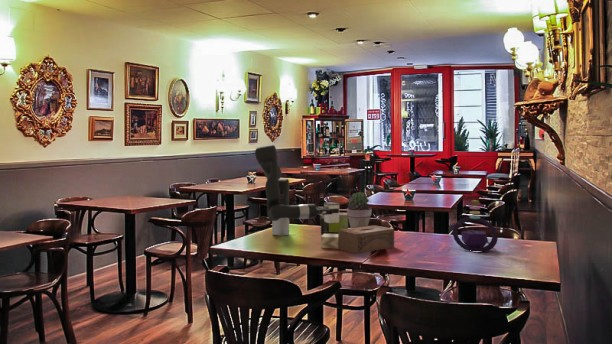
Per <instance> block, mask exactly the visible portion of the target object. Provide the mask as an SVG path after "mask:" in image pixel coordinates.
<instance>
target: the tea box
mask: <svg viewBox="0 0 612 344" xmlns="http://www.w3.org/2000/svg"><path fill="white" fill-rule="evenodd" d="M344 229H349V218H348V213H347V212H339V223H327V222H324V215H320V237H321V236H322V235H323V234H338V230H344Z"/></svg>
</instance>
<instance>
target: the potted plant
mask: <svg viewBox="0 0 612 344" xmlns="http://www.w3.org/2000/svg"><path fill="white" fill-rule="evenodd" d="M371 195H372V194H371V191H370V190H368V189H367V190H365V191H364V192H362V191H360V190H359V191H358V192H354V193H352V194H351V196H349V200H348V201H349V203H348V204H347V206H345V207H344V206H343V207H344V208H346V207H347V208H346V213H348V224H349V227H350V229H351V228H359V227H367V226H369V223H370V218H371V216H372V212H373V209H372V208H370V207H369V206H371V207H372V205H370V204H369V203H368V202H370V197H371Z"/></svg>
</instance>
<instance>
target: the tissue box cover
mask: <svg viewBox="0 0 612 344" xmlns="http://www.w3.org/2000/svg"><path fill="white" fill-rule="evenodd" d="M392 248H395V228H392V227H386V226H381V225H380V226H379V225H376V224H375V225H368V226H367V227H359V228H351V227H350V228H348V229H344V230H338V248H337V249H338V250H341V251H346V252H350V253H353V254H357V255H358V254H363V253H370V252H375V250H376V251H380V249H381V250H386V249H392Z"/></svg>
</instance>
